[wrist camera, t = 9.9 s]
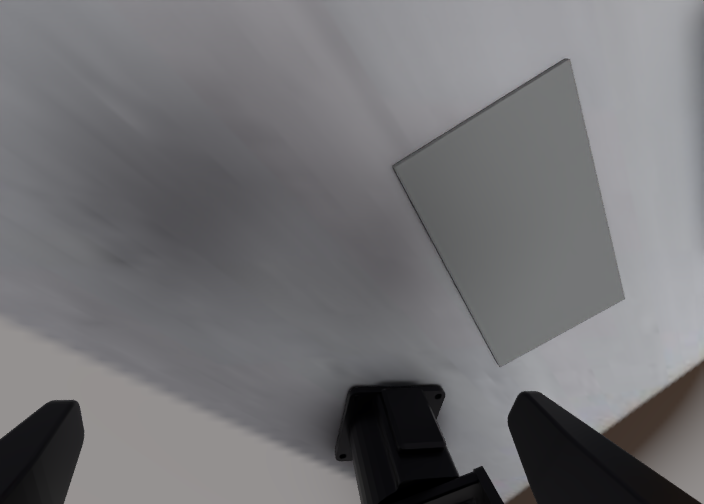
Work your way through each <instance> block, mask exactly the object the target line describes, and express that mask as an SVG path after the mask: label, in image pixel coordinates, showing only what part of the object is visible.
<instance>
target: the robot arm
mask: <svg viewBox="0 0 704 504" xmlns="http://www.w3.org/2000/svg"><path fill="white" fill-rule="evenodd" d="M356 395H358V396H356ZM444 398H445V392H444V390H443V388H442V387H439V386H421V387H357V388H353V389H351V390H350V391H349V393H348V397H347V401H346V405H345V410H344V414H343V418H342V423H341V427H340V431H339V435H338V440H337V444H336V448H335V457H336V459H337V460H338V461H352V460H353V465H354V470H355V475H356V480H357V485H358V490H359V495H360V500H361V504H504V503H503V501H502V499H501V498H500V496H499V494H498V492H497V491H496V489H495V487H494V485H493V484H492V482H491V480H490V478H489V477H488V475H487V473H486V471H485V470H484V468H483V466H481V467H478V468H476V469H473V472H470V473H468V474H465V475H463V476H459V474H458V472H457V469H456V467H455V465H454V463H453V460H452V458H451V456H450V453H449V451H448V449H447V447H446V441H445V439H444V437H443V435H442V432H441V430H440V428H439V425H438V423H437V421H436V419H437V416H438V414H439V411H440V408H441V406H442V403H443V401H444ZM508 427H509V430H510V432H511V435H512V438H513V441H514V443H515V446H516V449H517V452H518V454H519V457H520V460H521V463H522V465H523V468H524V471H525V473H526V476H527V479H528V482H529V484H530V487H531V489H532V492H533V495H534V497H535V499H536V501H537V503H538V504H701V503H700V502H699V501H697V500H696V499H694V498H693V497H691V496H690V495H688V494H687V493H685V492H684V491H683V490H681V489H680V488H678V487H677V486H675V485H674V484H673V483H671V482H669V481H668V480H667V479H665V478H664V477H662V476H661V475H659V474H658V473H657V472H655V471H654V470H652V469H651V468H649V467H648V466H646V465H645V464H643V463H642V462H640V461H639V460H638V459H636V458H635V457H633V456H632V455H630V454H629V453H627V452H626V451H625V450H623V449H622V448H620V447H619V446H617V445H616V444H614V443H613V442H611V441H610V440H609V439H607V438H605V437H604V436H603V435H601V434H600V433H598V432H597V431H595V430H594V429H593V428H591V427H590V426H588V425H587V424H585V423H584V422H582V421H581V420H579V419H578V418H577V417H575V416H574V415H572V414H571V413H569V412H568V411H566V410H565V409H563V408H562V407H561V406H559V405H558V404H556V403H555V402H553V401H552V400H550V399H549V398H547V397H546V396H545V395H543V394H542V393H540V392H537V391H524V392H521V393H520V394H519V395H518V396H517V398H516V400H515V402H514V405H513V407H512V409H511V411H510V413H509V415H508ZM83 440H84V427H83V422H82V416H81V411H80V406H79V403H78V402H77V401H75V400H54V401H50V402H48V403H46V404H45V405H43V406H42V407H41V408H40V409H38V410H37V411H36V412H34V413H33V414H32V415H31V416H29V417H28V418H27V419H25V420H24V421H23V422H22V423H20V424H19V425H18V426H16V427H15V428H14V429H13V430H11V431H10V432H9V433H7V434H6V435H5V436H4V437H2V438H1V439H0V504H64V501H65V497H66V495H67V492H68V489H69V486H70V482H71V479H72V476H73V473H74V470H75V466H76V463H77V461H78V457H79V454H80V451H81V448H82V445H83Z"/></svg>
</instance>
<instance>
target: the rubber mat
mask: <svg viewBox="0 0 704 504" xmlns="http://www.w3.org/2000/svg"><path fill="white" fill-rule="evenodd" d="M393 168H394V170H395V172H396V174H397V176H398V178H399V180H400V181H401V183H402V185H403V187H404V189H405V191H406V193H407V195H408V196H409V198H410V200H411V202H412V204H413V206H414V208H415V210H416V211H417V213H418V215H419V217H420V219H421V221H422V223H423V225H424V227H425V228H426V230H427V232H428V234H429V236H430V238H431V240H432V242H433V243H434V245H435V247H436V249H437V251H438V253H439V255H440V257H441V258H442V260H443V262H444V264H445V266H446V268H447V270H448V272H449V273H450V275H451V277H452V279H453V281H454V283H455V285H456V287H457V289H458V290H459V292H460V294H461V296H462V298H463V300H464V302H465V304H466V305H467V307H468V309H469V311H470V313H471V315H472V317H473V319H474V320H475V322H476V324H477V326H478V328H479V330H480V332H481V334H482V335H483V337H484V339H485V341H486V343H487V345H488V347H489V349H490V350H491V352H492V354H493V356H494V358H495V360H496V362H497V364H498V365H499V367H502V366H504V365H505V364H507V363H509V362H511V361H513V360H515V359H516V358H518V357H520V356H522V355H524V354H525V353H527V352H529V351H531V350H533V349H535V348H536V347H538V346H540V345H542V344H544V343H546V342H547V341H549V340H551V339H553V338H555V337H556V336H558V335H560V334H562V333H564V332H566V331H567V330H569V329H571V328H573V327H575V326H577V325H578V324H580V323H582V322H584V321H586V320H588V319H589V318H591V317H593V316H595V315H597V314H598V313H600V312H602V311H604V310H606V309H608V308H609V307H611V306H613V305H615V304H617V303H619V302H620V301H622V300H624V299H625V297H624V292H623V288H622V284H621V279H620V275H619V270H618V266H617V262H616V257H615V253H614V249H613V244H612V240H611V236H610V231H609V227H608V223H607V218H606V214H605V209H604V205H603V201H602V196H601V192H600V188H599V183H598V179H597V175H596V170H595V166H594V162H593V157H592V153H591V149H590V144H589V140H588V135H587V131H586V127H585V122H584V118H583V114H582V109H581V105H580V101H579V96H578V92H577V88H576V83H575V79H574V74H573V70H572V66H571V61H570V59H564V60H562V61H561V62H559V63H557V64H556V65H554V66H553V67H551V68H549V69H548V70H546V71H545V72H543V73H541V74H540V75H538V76H537V77H535V78H533V79H532V80H530V81H528V82H527V83H525V84H524V85H522V86H520V87H519V88H517V89H516V90H514V91H512V92H511V93H509V94H508V95H506V96H504V97H503V98H501V99H500V100H498V101H496V102H495V103H493V104H491V105H490V106H488V107H487V108H485V109H483V110H482V111H480V112H479V113H477V114H475V115H474V116H472V117H471V118H469V119H467V120H466V121H464V122H462V123H461V124H459V125H458V126H456V127H454V128H453V129H451V130H450V131H448V132H446V133H445V134H443V135H442V136H440V137H438V138H437V139H435V140H433V141H432V142H430V143H429V144H427V145H425V146H424V147H422V148H421V149H419V150H417V151H416V152H414V153H413V154H411V155H409V156H408V157H406V158H405V159H403V160H401V161H400V162H398V163H396V164H395V165H393Z"/></svg>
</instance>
